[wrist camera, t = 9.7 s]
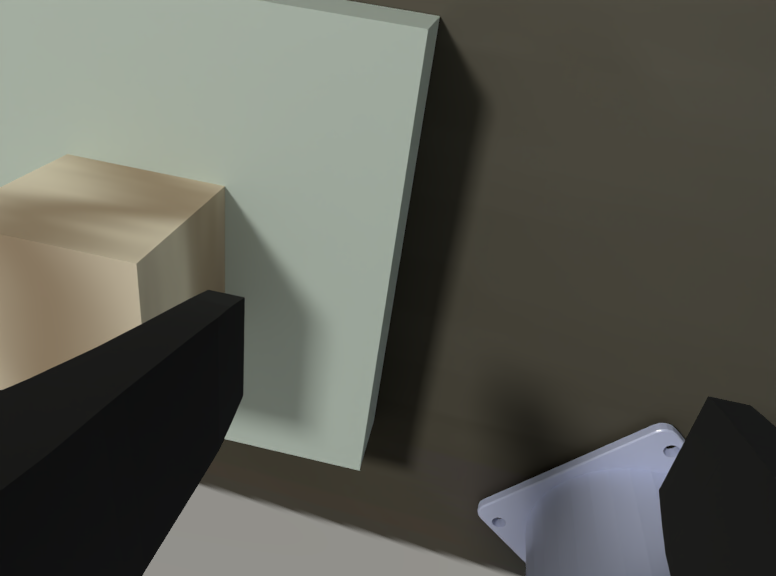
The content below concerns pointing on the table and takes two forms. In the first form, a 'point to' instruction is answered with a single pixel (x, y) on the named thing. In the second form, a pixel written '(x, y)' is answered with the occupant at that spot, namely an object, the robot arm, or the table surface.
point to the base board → (251, 169)
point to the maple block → (99, 256)
